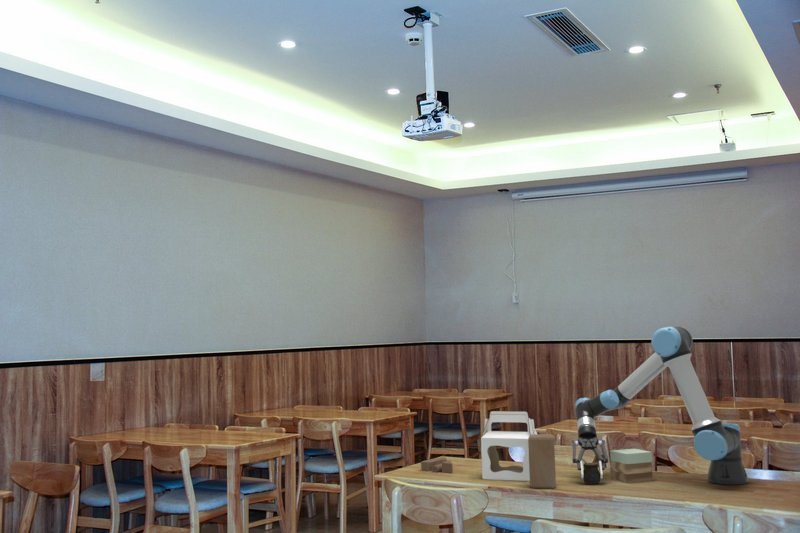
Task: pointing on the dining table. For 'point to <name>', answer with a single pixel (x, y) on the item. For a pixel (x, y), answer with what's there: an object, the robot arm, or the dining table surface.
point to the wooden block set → (437, 465)
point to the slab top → (631, 456)
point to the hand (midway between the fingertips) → (592, 476)
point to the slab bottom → (632, 477)
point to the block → (542, 461)
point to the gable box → (505, 439)
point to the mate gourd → (591, 473)
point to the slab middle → (631, 467)
